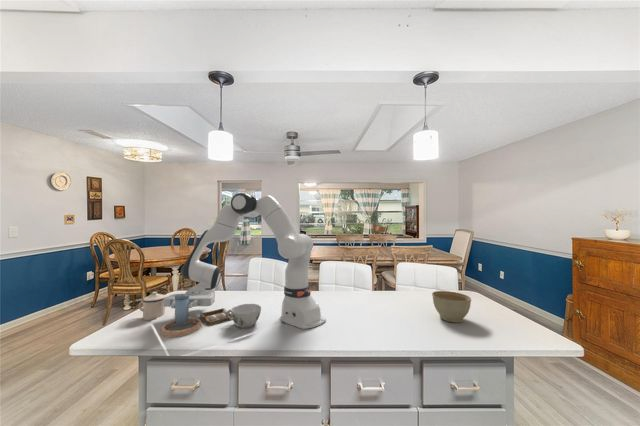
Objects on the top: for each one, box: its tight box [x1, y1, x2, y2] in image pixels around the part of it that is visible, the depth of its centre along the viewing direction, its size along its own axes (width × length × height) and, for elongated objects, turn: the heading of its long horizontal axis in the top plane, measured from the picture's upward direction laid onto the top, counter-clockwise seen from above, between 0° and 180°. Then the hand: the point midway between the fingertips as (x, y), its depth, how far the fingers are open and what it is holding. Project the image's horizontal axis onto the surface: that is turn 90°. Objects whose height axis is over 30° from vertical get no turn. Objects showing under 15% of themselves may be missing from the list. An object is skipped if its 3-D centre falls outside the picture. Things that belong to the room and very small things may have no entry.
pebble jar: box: [174, 293, 190, 326], centre depth 103 cm, size 5×5×11 cm
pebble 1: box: [209, 315, 217, 321], centre depth 110 cm, size 3×3×3 cm
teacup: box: [227, 303, 262, 329], centre depth 107 cm, size 15×12×8 cm
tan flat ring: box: [160, 316, 202, 338], centre depth 103 cm, size 14×14×3 cm
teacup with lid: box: [138, 291, 166, 321], centre depth 118 cm, size 12×9×12 cm
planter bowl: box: [431, 290, 472, 323], centre depth 116 cm, size 16×16×11 cm
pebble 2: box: [219, 313, 226, 319], centre depth 112 cm, size 3×3×3 cm
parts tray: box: [199, 308, 232, 326], centre depth 114 cm, size 13×11×2 cm
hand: (180, 306), depth 102 cm, fingers closed on pebble jar, 5 cm apart
